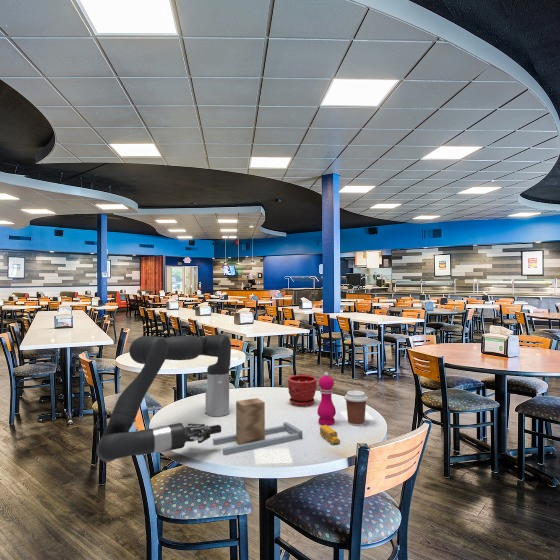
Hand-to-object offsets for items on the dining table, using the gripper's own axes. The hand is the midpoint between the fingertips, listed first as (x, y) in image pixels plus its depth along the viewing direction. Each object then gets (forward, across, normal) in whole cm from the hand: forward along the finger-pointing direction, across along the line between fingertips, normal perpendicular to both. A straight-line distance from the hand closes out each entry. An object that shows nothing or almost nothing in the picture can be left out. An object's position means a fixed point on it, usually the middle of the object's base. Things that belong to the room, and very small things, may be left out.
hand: (220, 428), depth 134 cm
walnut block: (+11, 0, +7) cm, 13 cm away
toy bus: (+37, -10, +8) cm, 39 cm away
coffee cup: (+56, -1, +7) cm, 56 cm away
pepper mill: (+46, +5, +7) cm, 47 cm away
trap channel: (+14, 0, +7) cm, 16 cm away
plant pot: (+52, +32, +7) cm, 61 cm away
